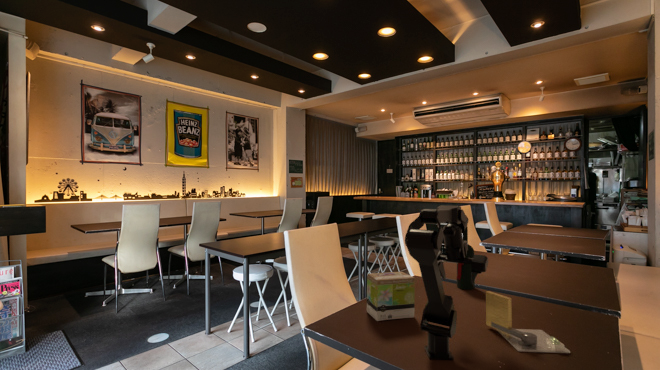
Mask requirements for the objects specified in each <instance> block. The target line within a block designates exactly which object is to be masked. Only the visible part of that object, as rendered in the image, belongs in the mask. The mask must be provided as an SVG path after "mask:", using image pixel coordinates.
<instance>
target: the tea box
mask: <svg viewBox="0 0 660 370" xmlns="http://www.w3.org/2000/svg"><path fill="white" fill-rule="evenodd" d="M366 277H367V278H366V312H367V313H368V315H370V316H371V317H372V318H373V319H374V320H375V321H376V322H380V321H387V320H388V321H389V320H397V319H398V320H399V319H411V318H415V306H416V305H415V303H416V302H415V298H416V297H415V296H416V295H415V293H416V291H415V289H416V283H415V282H416V278H415V277H414V276H412V275H410V274H408V273H405V272H404V271H391V272H373V273H367V275H366Z"/></svg>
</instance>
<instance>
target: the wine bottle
mask: <svg viewBox="0 0 660 370" xmlns="http://www.w3.org/2000/svg"><path fill="white" fill-rule="evenodd" d="M468 224H469V223H468ZM468 224H467V226H466V228H465V230H464V232H463V233H462V238H463V240H464V241H468V240H469V239H468V237H469V236H468V235H469V234H468V232H469V231H468ZM474 254H475V249H474V247H472V245H470V244H469V243H468V251H467V255H465V258H473V257H474ZM471 271H472V267H471V265H470V264H462V263H456V288H458V289H460V290H464V289H465V291H473V290H472V289H474V288H475V287H476V282H474V285H472V278H471ZM475 289H476V288H475ZM475 289H474V290H475Z"/></svg>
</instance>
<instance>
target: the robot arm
mask: <svg viewBox="0 0 660 370" xmlns="http://www.w3.org/2000/svg"><path fill="white" fill-rule="evenodd" d="M426 224H427V225H428V224H429V225H436V226H437V230H434V229H433V230H432V229H421V228H423V227H424V225H426ZM441 224H445V225H444V226H442V225H441ZM467 224H469V218H468V216H467V215H466V213H465V211H464V210H463V209H462V206H460V205H444V204H443V205H438V207H436V208H424V209H420V211H419V215H418V216H417V217H416V218H415V219H414V220H413V221H412V222H410V223H409V225H408V227H407V231H406V233H405V237H404V244H405V246H406V248H407V251H408V253H409V256H410V258H412V259H414V260H415V261H416V262H417V263H418V266H419V271H420V274H421V278H422V282H423V286H424V290H425V294H426V298H427V300H426V304H425V306H424V308H423V311H422V316H421V320H420V323H419V325H420V326H419V328H420V331H422V332H427V345H424V350H425V352H426V354H427V356H428V358H429V359H431V360H432V359H433V360H454V356H453V354H452V353H451V351H450V339H452V338H453V337H454V336H455V334H456V331H457V321H458V318H457V317H458V314H457V310H456V309H455V308H456V307H455V303H454V298H453V297H452V295H449V294H448V295H447V294H445V289H444V285H443V281H446V280H447V276H446V270H445V265H444V263H450V264H457V263H462V264H470V265H471V267H472V271H471V278H472V285H474V282H475V281H476V278H477V276H478V274H482V273H485V272H486V271H487V268H488V265H489V258H488V257H487V255H483V254H475V253H474V257H473V258H465V255H467V251H468V244H469V243H468V241H464V240H463V232H464V230H465V228H466V226H467V227H468V225H467ZM443 242H444V247H443V251H445V255H443V253H442V251H441V248H442V245H443ZM442 280H443V281H442ZM475 283H476V282H475ZM435 324H436V325H435ZM445 326H446V327H445Z"/></svg>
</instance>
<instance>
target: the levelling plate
mask: <svg viewBox="0 0 660 370" xmlns="http://www.w3.org/2000/svg"><path fill="white" fill-rule="evenodd" d="M515 329H516V330H518V331H521V332H528V333H532V334H535V335H536V336H537V345H528V344H525V343H523V342H522V341H521V339H520V338H518V337H515V336H513V335H511V334H506V333H504V332H502V331H499V330H497V329H496V331H497V332H498V333H499V334H500V335H501V336H502V337H503V338H504V339H505V340H506V341H507V342H508V343H509V344H510V345H511V346H512V347H513V348H514V349H515V350H516V351H517V352H519V353H520V352H524V353H525V352H526V353H527V352H528V353H554V354H556V353H557V354H571V351H570V349H568V348H567V347H566V346H565V344H564V343H562V342H561V341H560V340H559V339H557V338H556V337H555V336H551V335H549V333H547V332H545V331H544V330H543V329H532V328H531V329H530V328H529V329H528V328H527V329H525V328H515Z"/></svg>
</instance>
